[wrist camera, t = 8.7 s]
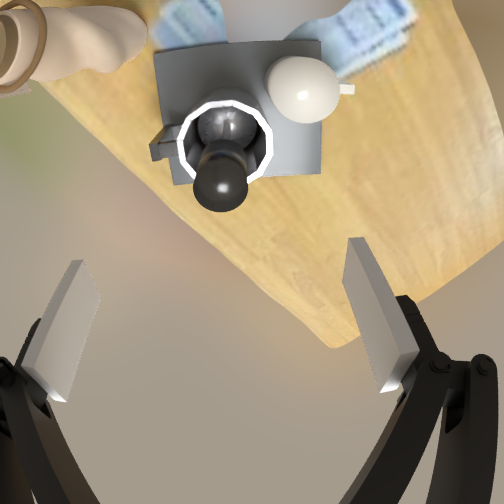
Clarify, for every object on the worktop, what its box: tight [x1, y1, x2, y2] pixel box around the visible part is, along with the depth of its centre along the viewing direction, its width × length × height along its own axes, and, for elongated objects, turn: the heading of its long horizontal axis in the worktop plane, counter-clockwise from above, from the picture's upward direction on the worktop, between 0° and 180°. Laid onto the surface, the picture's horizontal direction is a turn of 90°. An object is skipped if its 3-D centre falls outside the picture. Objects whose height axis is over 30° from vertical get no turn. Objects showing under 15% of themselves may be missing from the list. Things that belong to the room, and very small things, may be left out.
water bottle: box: [0, 0, 148, 98], centre depth 21 cm, size 10×9×28 cm
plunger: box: [193, 106, 257, 212], centre depth 30 cm, size 7×7×19 cm
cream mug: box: [264, 56, 354, 123], centre depth 33 cm, size 8×10×9 cm
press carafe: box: [149, 86, 273, 183], centre depth 35 cm, size 10×13×12 cm
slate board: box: [153, 40, 322, 185], centre depth 40 cm, size 20×22×1 cm
